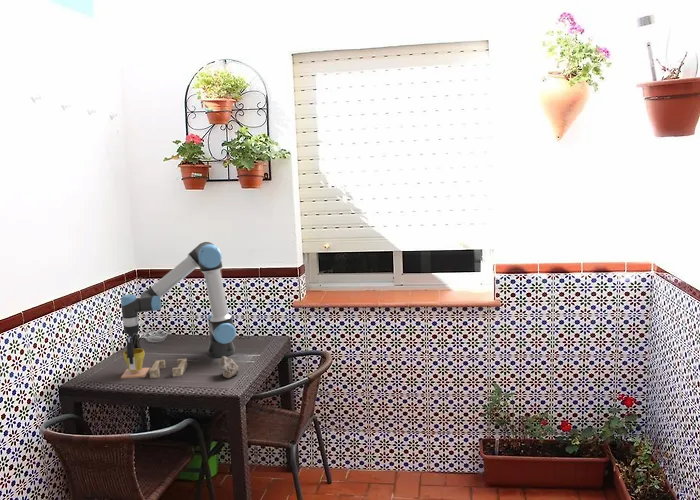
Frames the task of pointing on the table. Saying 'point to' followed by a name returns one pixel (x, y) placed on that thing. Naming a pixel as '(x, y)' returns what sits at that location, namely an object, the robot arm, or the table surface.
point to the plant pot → (136, 358)
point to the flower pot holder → (161, 364)
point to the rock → (228, 367)
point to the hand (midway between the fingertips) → (135, 366)
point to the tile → (135, 373)
